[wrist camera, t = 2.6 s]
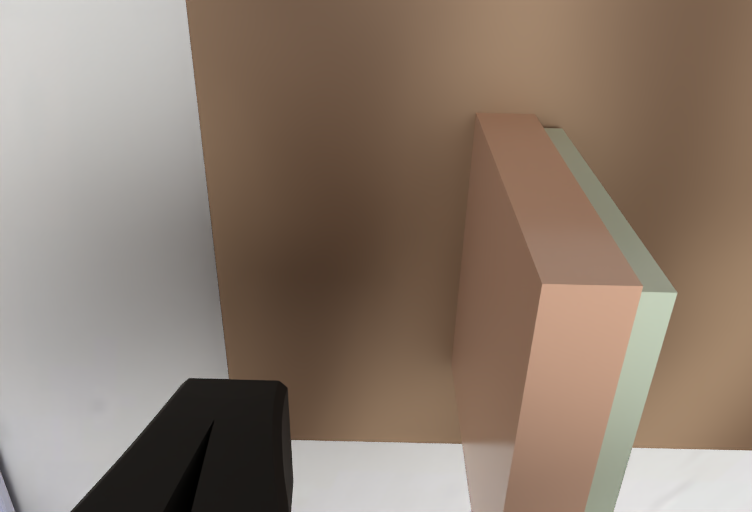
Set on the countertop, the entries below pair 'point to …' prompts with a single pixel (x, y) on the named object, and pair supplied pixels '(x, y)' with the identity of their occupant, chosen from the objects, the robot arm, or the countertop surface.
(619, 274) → the tile
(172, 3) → the countertop surface
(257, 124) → the board
